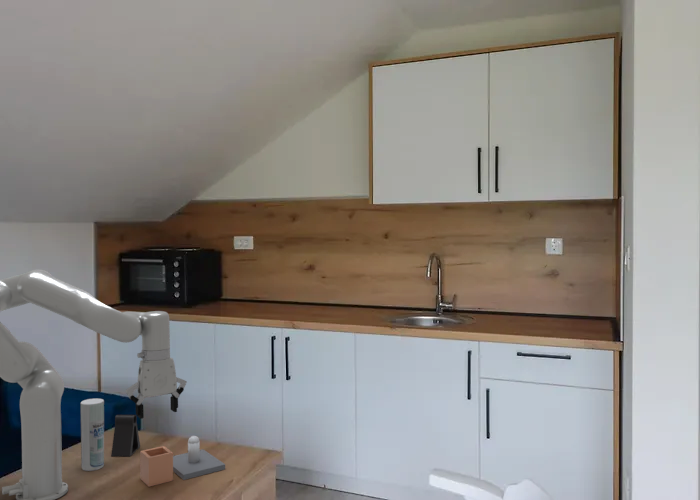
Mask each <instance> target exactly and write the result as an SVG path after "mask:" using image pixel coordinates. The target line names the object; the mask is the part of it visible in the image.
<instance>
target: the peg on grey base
mask: <svg viewBox="0 0 700 500" xmlns="http://www.w3.org/2000/svg"><path fill="white" fill-rule="evenodd" d="M200 444H201V442H200V438H199V437H198V435H197V436H196V435H191V436H190V437H189V438H188V441H187V452H184V453H180V454H177V455H173V473H175V474H176V475H177V476H179V478H180V479H182V480H183V481H185V480H188V479H193V478H196V477H201V476H205V475H208V474H211V473H217V472H220V471H223V470H226V463H224V462H223V461H221V460H220V459H218V458H217V457H216V456H215V455H213V454H211V453H209V452H208V451H206V450H205V449H202V448H201V447H200V446H201V445H200ZM200 448H201V449H200Z"/></svg>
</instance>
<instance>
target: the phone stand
mask: <svg viewBox="0 0 700 500" xmlns="http://www.w3.org/2000/svg"><path fill="white" fill-rule="evenodd" d="M137 418H138V416H137V415H136V414H116V415H115V417H114V429H113V439H112V445H111V455H110V456H111V457H128V458H129V457H131V456H133V454H135V453H136V450H137V451H138V450H139V449H140V448H141V442H140V436H139V430H138V423H137V422H138V421H137V420H138V419H137Z"/></svg>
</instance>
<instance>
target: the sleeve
mask: <svg viewBox="0 0 700 500" xmlns="http://www.w3.org/2000/svg"><path fill="white" fill-rule="evenodd" d="M139 454H140V455H139V465H140V469H139V470H140V471H139V472H140V474H139V477H140V480H141V481H142V482H143V483H144V484H145V485H147V487H153V486H157V485H160V484H161V485H162V484H165V483H169V482H172V481H174V472H173V456H174V453H173V452H172V450H171V449H168V448H167V446H165V445H161V446H157V447H153V448H149V449H148V448H147V449H144V450H143V449H142V450H140V452H139Z"/></svg>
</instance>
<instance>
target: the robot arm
mask: <svg viewBox="0 0 700 500" xmlns="http://www.w3.org/2000/svg"><path fill="white" fill-rule="evenodd" d="M30 303H31V304H33V305H36V306H38V307H39V308H40V307H41V308H43V309H45V310H48V311H49V312H52V313H54V314H57V315H60V316H62V317H65V318H67V319H69V320H71V321H73V322H74V323H76V324H79V325H80V326H83V327H84V328H87V329H89V330H92V331H93V332H96V333H98V334H99V335H101V336H105V337H107V338H109V339H111V340H114V341H117V342H119V343H124V344H125V343H131V342H132V343H133V342H134V341H135V340H137V339H138V338H139V337H140V336H141V344H142V345H141V351H140V352H138V353H137V355H136V356H137V359H141V360H140V361H139V366H138V371H137V382H135V383H134V384H132V385H131V386H129V387H128V388H126V389H125V393H126V395H127V397H128V398H129V399H130V400H131V401H132V402H133V403H135V415H136V416H137V418H139V419H141V420H142V419H144V413H145V412H144V404H143V402H144V400H145V399H146V398H154V397H159V396H166V395H170V394H171V396H170V403H169V404H170V410H171V411H172V412H174V413H177V412H178V408H179V398H180V395H181V394H182V393H183V392H184V391H185V390H184V389H185V388H186V385H187V383H188V382H187V380H186V379H182V378H179V377H178V376H177V372H176V365H175V361H174V358H173V357H171V343H170V342H171V339H170V334H171V333H170V331H171V330H170V327H171V326H170V315H169V313H168V312H167V311H163V310H155V311H146V312H145V311H144V312H141V311H120V310H117V309H115V308H113V307H111V306H109V305H106V304H105V303H103V302H101V301H100V300H98V299H97V298H95V297H94V296H93V295H92V294H91V293H90V292H88V291H86V290H85V289H82V288H79V287H78V286H75V285H73V284H70V283H68V282H66V281H63V280H61V279H60V278H57V277H55V276H54V275H52V274H51V273H50V272H49V271H47V270H44V269H32V270H29V271H27V272H24V273H21V274H17V275H12V276H10V277H6V278H2V279H0V313H1V312H3V311H6V310H9V309H12V308H16V307H19V306H23V305H27V304H30ZM0 379H2V380H3V381H4V382H8V383H12V384H14V383H17V384H18V385H19V386H20V387H21V388H22V390H21V393H20V396H19V397H20V399H19V411H20V423H21V424H20V425H21V428H20V429H21V462H22V463H21V469H22V470H21V472H22V473H21V478H19V481H18V482H16V483H15V484H13V485H6V486H2V487H1V492H2V494H1V495H3V496H4V495H7V494H8V496H9V497H10V496H15V499H16V500H57V499H59V498H61V497H63V496H65V495H66V494H67V493H68V491H69V485H68V483H67V482H65V481H63V475H62V474H63V472H62V471H63V469H62V468H63V465H62V463H63V462H62V461H63V460H62V458H63V457H62V454H63V453H62V447H63V446H62V441H63V440H62V413H61V412H62V410H61V402H62V396H63V394H64V391H65V382H64V379H63V377H62V376H61V374H60V373H59V372H58V371H57V370H56V368H55V367H54V366H53V365H52V363H50V361H49V360H48V359H47V357H46V356H44V354H43V353H42V352H41V351H40V350H39V349H38V347H36V346H35V345H34V344H32V343H30V342H27V341H19V340H18V339H17V338H16V337H15V336H14V335H13V334H12V333H11V331H10V330H9V329H8V328H7V327H6V326H5V325H4V324H3V323H2V322H1V321H0ZM178 384H179V385H178ZM136 390H137V395H136V396H135V395H134V392H135V391H136Z"/></svg>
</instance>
